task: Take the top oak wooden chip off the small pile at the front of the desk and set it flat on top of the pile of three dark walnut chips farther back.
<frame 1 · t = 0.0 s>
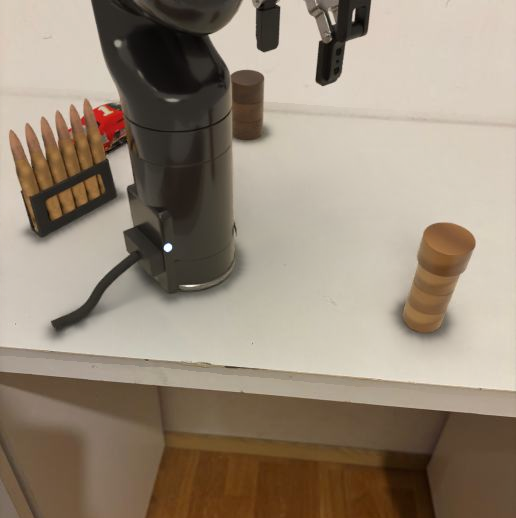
hand: (296, 65, 54), 17 cm above the table, tool pointing down, fingers open, 8 cm apart
oak chip base pile: (421, 318, 56), on the table
oak chip: (441, 260, 51), point 7 cm above the table, touching oak chip base pile
walnut chip pile: (246, 131, 79), on the table
ammunition clip: (76, 214, 66), on the table
race car: (104, 143, 77), on the table
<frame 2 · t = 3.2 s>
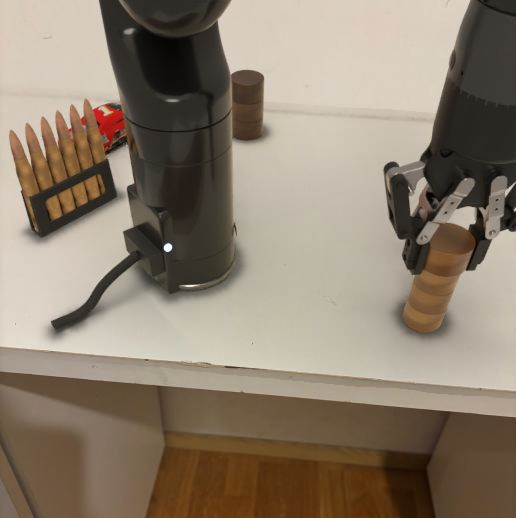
hand: (440, 266, 51), 7 cm above the table, tool pointing down, fingers closed on oak chip, 4 cm apart
oak chip: (441, 260, 51), point 8 cm above the table, touching gripper, oak chip base pile
everything else where it was.
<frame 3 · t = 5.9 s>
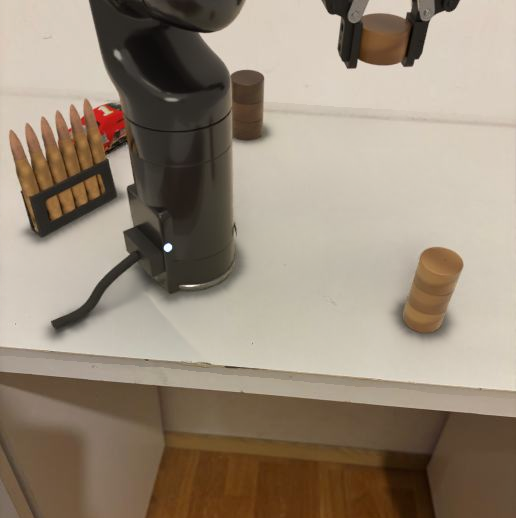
hand: (377, 63, 50), 19 cm above the table, tool pointing down, fingers closed on oak chip, 4 cm apart
oak chip: (378, 54, 49), point 20 cm above the table, touching gripper
everything else where it was.
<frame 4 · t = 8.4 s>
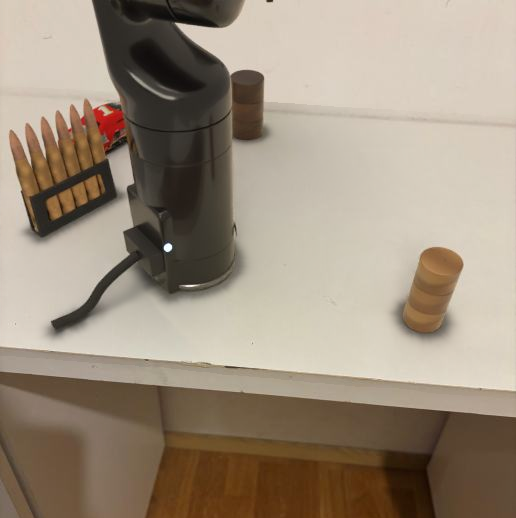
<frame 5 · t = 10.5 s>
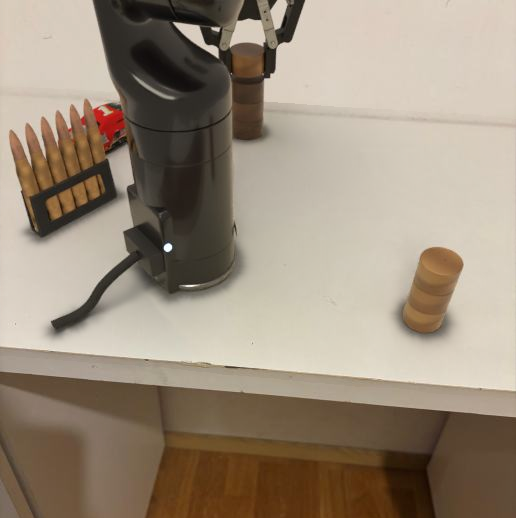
hand: (247, 76, 73), 8 cm above the table, tool pointing down, fingers closed on oak chip, 4 cm apart
oak chip: (247, 70, 73), point 8 cm above the table, touching gripper
everything else where it was.
when the fingers open (8 cm above the table, at t = 13.6 s): oak chip drops 1 cm, resting on walnut chip pile.
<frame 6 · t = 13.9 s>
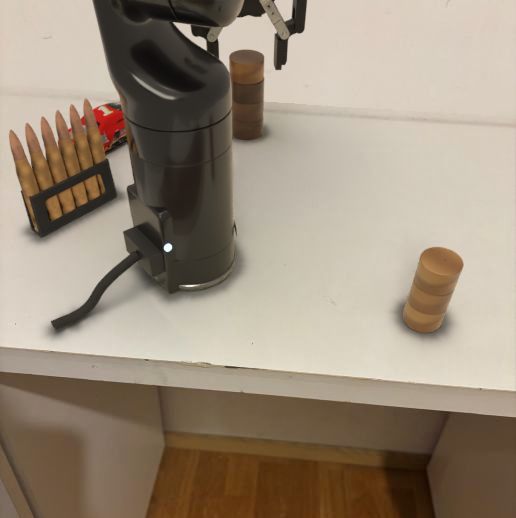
hand: (247, 68, 72), 9 cm above the table, tool pointing down, fingers open, 7 cm apart
oak chip: (246, 76, 73), point 7 cm above the table, touching walnut chip pile
everything else where it was.
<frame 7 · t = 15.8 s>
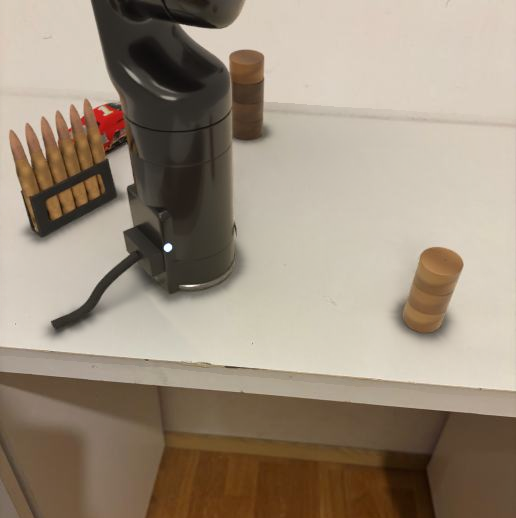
nothing on the table moved.
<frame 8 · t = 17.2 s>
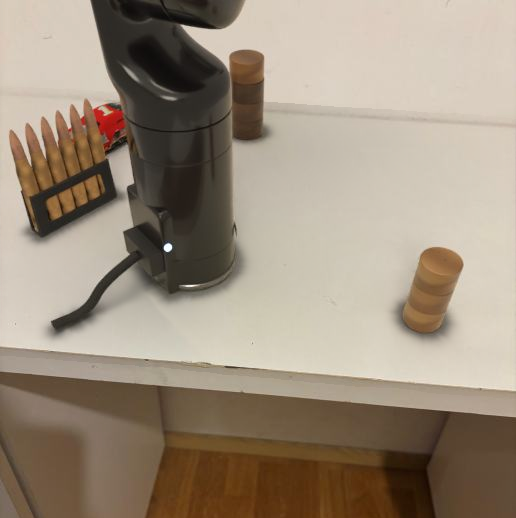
nothing on the table moved.
at the end: oak chip 0.1 cm off-centre on the walnut chip pile, point 7.5 cm above the walnut chip pile's base; oak chip tilted 0°; the gripper is holding nothing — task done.
